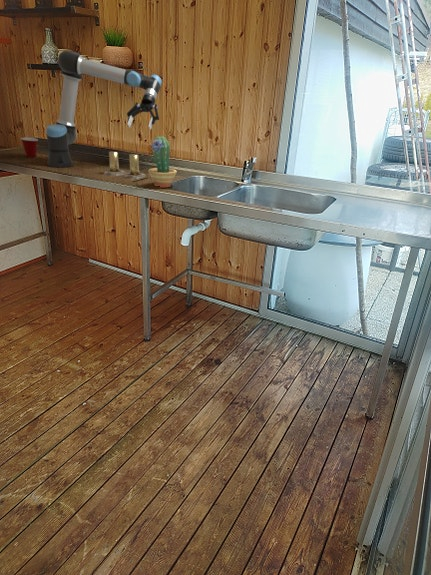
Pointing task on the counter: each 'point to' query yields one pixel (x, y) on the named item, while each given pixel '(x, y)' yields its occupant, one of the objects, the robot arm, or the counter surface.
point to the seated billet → (113, 162)
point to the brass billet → (134, 164)
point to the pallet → (124, 175)
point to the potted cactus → (162, 163)
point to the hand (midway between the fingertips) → (138, 127)
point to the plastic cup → (30, 146)
